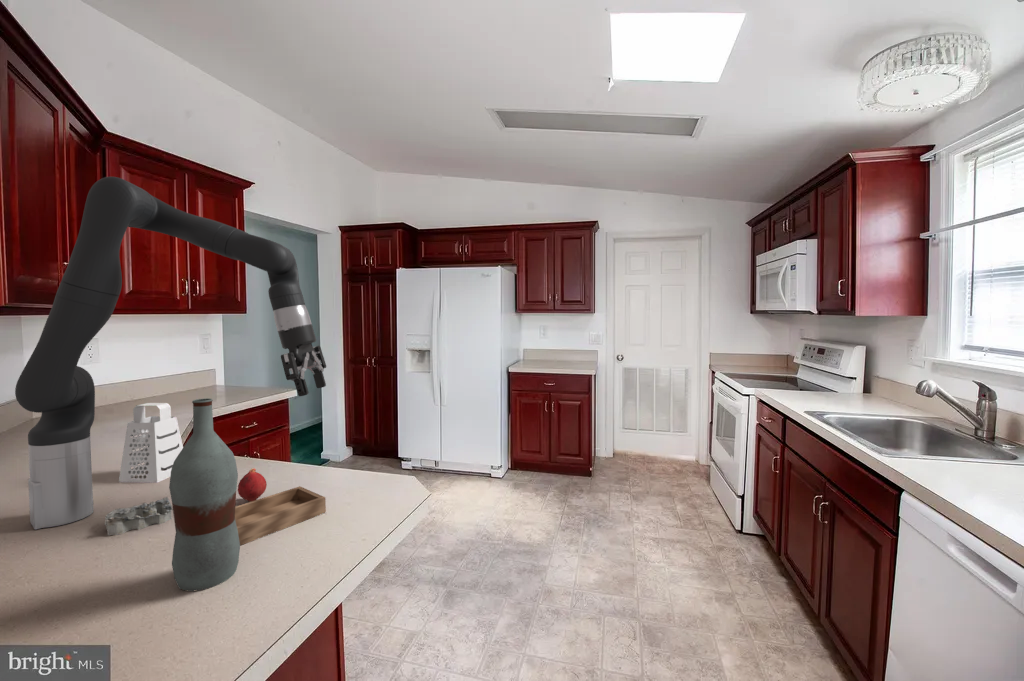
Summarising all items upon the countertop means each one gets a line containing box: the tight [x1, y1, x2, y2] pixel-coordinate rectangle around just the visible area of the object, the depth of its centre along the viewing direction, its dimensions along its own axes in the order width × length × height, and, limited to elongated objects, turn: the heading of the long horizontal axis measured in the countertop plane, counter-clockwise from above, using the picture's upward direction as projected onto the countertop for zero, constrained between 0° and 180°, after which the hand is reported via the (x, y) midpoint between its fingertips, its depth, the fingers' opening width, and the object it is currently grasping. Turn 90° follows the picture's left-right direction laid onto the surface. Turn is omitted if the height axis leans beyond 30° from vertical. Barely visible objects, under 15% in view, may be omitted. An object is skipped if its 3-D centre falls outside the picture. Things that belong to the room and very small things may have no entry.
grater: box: [118, 402, 184, 484], centre depth 119 cm, size 10×10×20 cm
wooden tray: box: [235, 486, 327, 546], centre depth 91 cm, size 20×11×4 cm, turn 144°
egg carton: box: [104, 496, 173, 537], centre depth 91 cm, size 11×8×4 cm
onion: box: [237, 467, 268, 502], centre depth 102 cm, size 6×6×8 cm
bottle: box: [168, 397, 241, 592], centre depth 71 cm, size 9×9×30 cm
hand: (313, 391), depth 104 cm, fingers open, 8 cm apart
